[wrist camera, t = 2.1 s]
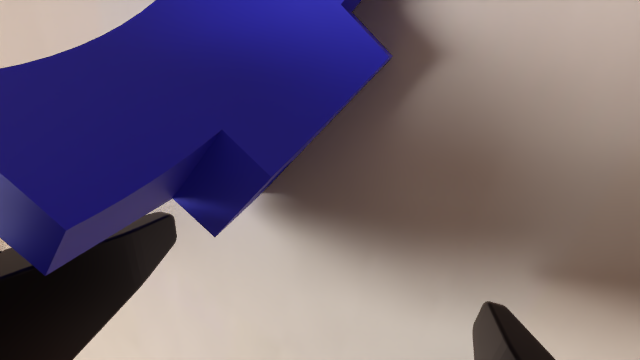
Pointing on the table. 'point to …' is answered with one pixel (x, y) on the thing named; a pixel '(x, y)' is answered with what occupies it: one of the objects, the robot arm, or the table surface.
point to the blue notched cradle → (171, 116)
